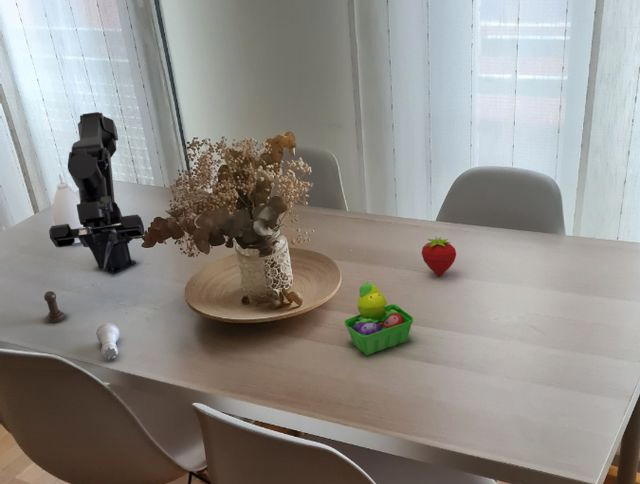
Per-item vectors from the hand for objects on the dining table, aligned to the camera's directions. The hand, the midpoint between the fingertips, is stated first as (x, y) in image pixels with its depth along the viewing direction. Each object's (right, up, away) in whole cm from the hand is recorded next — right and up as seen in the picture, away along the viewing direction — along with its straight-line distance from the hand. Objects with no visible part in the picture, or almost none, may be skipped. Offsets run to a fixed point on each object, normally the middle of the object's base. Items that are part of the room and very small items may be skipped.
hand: (102, 269), depth 179 cm
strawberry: (+71, -1, +7) cm, 71 cm away
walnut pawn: (-11, -10, +5) cm, 15 cm away
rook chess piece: (+3, -13, -7) cm, 15 cm away
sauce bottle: (-16, +11, +40) cm, 44 cm away
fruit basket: (+56, -15, -14) cm, 60 cm away
